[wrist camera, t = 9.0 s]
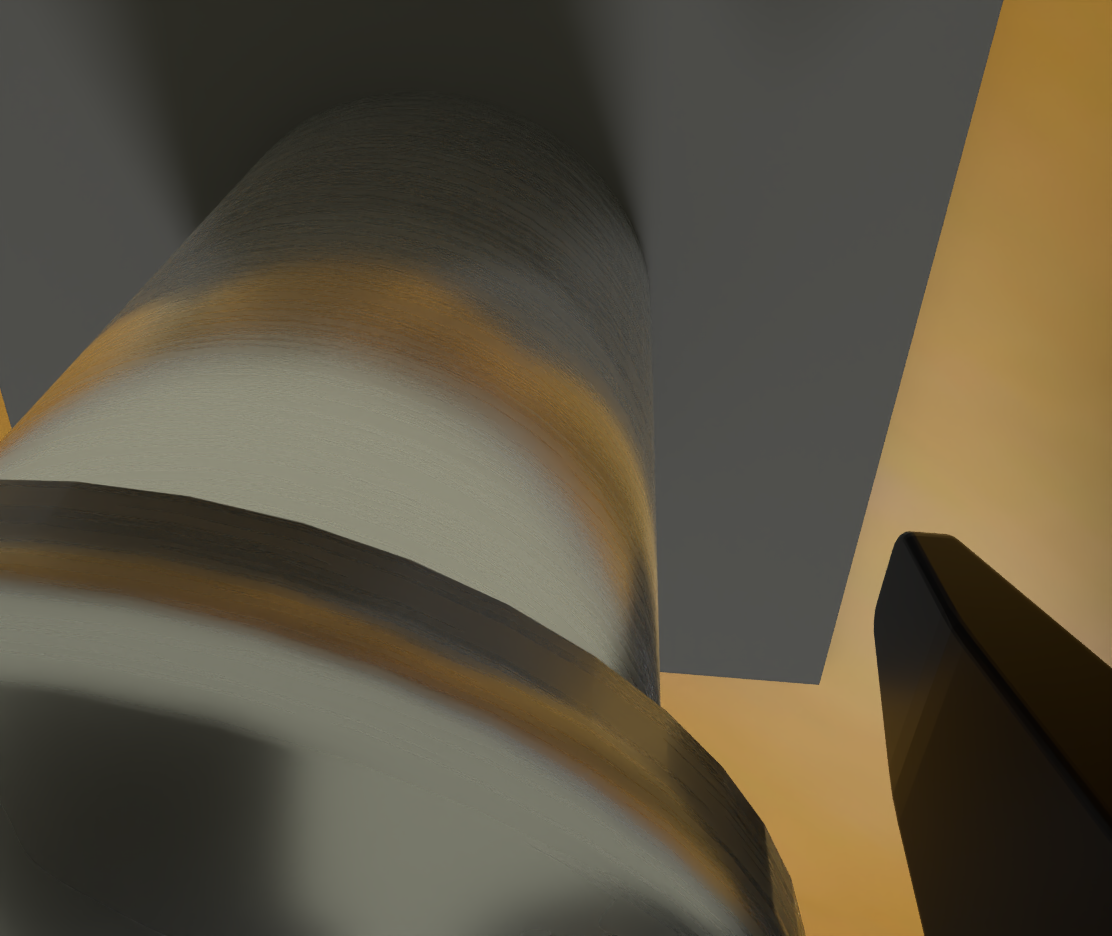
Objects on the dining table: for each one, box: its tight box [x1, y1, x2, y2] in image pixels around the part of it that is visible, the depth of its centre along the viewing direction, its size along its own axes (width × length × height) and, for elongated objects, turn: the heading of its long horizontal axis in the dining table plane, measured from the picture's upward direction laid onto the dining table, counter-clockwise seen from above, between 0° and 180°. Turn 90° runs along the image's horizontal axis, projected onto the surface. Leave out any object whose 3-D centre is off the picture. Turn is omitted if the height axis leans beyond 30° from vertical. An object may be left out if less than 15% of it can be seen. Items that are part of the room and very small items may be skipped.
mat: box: [0, 0, 1003, 685], centre depth 12 cm, size 11×11×1 cm
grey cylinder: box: [0, 92, 805, 936], centre depth 9 cm, size 6×6×9 cm
